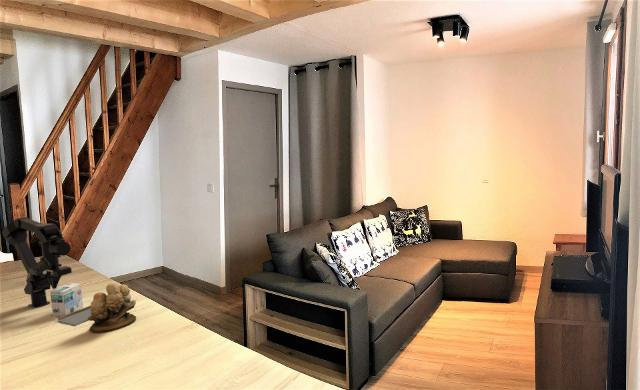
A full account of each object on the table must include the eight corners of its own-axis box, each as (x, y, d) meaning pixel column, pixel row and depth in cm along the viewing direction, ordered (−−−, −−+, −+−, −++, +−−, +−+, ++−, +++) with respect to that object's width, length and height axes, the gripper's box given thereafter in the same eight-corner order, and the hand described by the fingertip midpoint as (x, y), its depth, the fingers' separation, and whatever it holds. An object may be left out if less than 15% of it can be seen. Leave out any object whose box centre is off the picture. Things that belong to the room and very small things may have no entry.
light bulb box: (66, 316, 185) (63, 291, 184) (52, 316, 186) (49, 291, 185) (84, 307, 195) (81, 283, 194) (71, 306, 197) (68, 282, 195)
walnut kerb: (58, 320, 181) (57, 317, 181) (93, 306, 195) (93, 304, 195) (59, 320, 181) (59, 318, 181) (95, 306, 195) (95, 304, 195)
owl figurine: (131, 314, 185) (127, 274, 182) (143, 321, 176) (140, 279, 174) (84, 328, 172) (80, 285, 170) (95, 337, 164) (91, 292, 162)
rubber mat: (58, 321, 180) (57, 320, 180) (98, 306, 195) (98, 305, 195) (75, 325, 174) (75, 324, 174) (115, 309, 190) (114, 308, 190)
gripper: (18, 256, 189) (22, 292, 191) (44, 260, 180) (48, 297, 182) (44, 250, 199) (48, 284, 200) (70, 253, 190) (74, 288, 192)
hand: (54, 288), depth 193 cm, fingers closed
